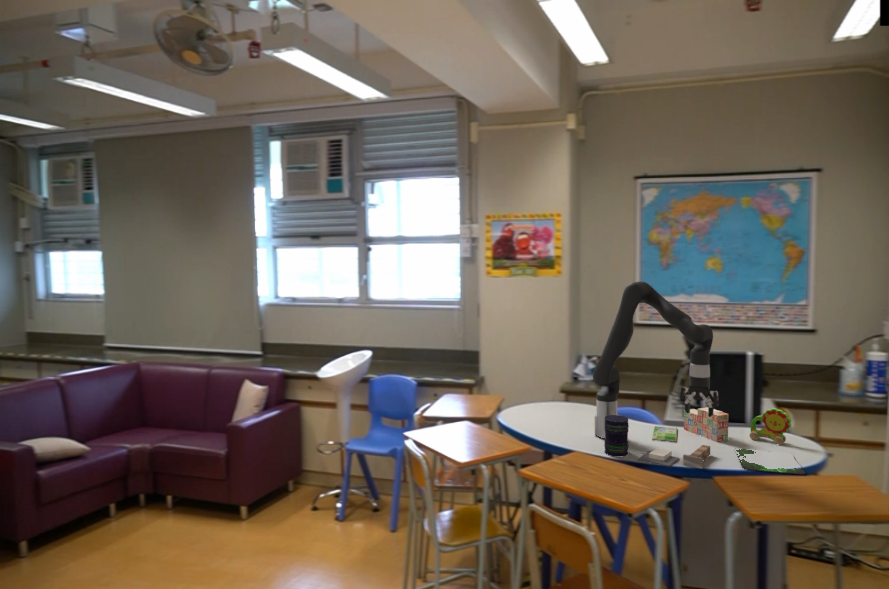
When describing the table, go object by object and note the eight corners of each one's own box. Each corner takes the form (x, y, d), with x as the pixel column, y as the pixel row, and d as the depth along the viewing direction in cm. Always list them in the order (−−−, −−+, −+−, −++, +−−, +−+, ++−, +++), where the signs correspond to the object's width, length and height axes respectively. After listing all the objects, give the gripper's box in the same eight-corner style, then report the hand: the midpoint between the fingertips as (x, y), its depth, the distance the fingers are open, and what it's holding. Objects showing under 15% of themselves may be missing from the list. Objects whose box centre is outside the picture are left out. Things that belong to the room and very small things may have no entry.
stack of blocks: (683, 429, 288) (683, 403, 287) (693, 427, 290) (693, 402, 289) (717, 442, 267) (717, 415, 267) (728, 440, 270) (728, 413, 269)
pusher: (697, 453, 255) (697, 443, 254) (715, 456, 250) (715, 447, 250) (683, 465, 242) (683, 455, 241) (701, 468, 237) (701, 458, 237)
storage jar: (604, 448, 263) (603, 414, 262) (627, 449, 261) (627, 415, 260) (604, 456, 253) (604, 421, 252) (629, 457, 251) (629, 422, 250)
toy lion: (748, 439, 270) (749, 406, 269) (753, 436, 274) (753, 403, 273) (788, 447, 259) (788, 412, 258) (792, 444, 263) (792, 409, 262)
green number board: (652, 441, 272) (676, 443, 269) (652, 438, 272) (676, 440, 269) (654, 428, 291) (677, 430, 287) (654, 425, 291) (677, 427, 287)
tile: (657, 452, 255) (649, 458, 248) (657, 447, 255) (649, 453, 248) (671, 455, 251) (663, 461, 244) (671, 450, 251) (663, 456, 244)
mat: (637, 460, 248) (637, 458, 248) (648, 452, 256) (648, 451, 256) (669, 466, 240) (669, 465, 239) (679, 459, 248) (679, 457, 248)
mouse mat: (733, 448, 260) (733, 446, 260) (791, 452, 253) (791, 450, 253) (742, 471, 234) (743, 468, 234) (807, 476, 227) (807, 474, 227)
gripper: (678, 374, 244) (677, 413, 245) (715, 378, 234) (714, 419, 236) (684, 371, 249) (684, 409, 251) (721, 375, 240) (720, 415, 242)
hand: (699, 414), depth 243 cm, fingers open, 8 cm apart
